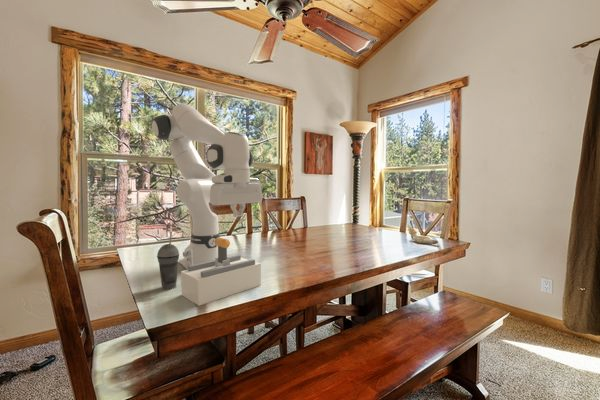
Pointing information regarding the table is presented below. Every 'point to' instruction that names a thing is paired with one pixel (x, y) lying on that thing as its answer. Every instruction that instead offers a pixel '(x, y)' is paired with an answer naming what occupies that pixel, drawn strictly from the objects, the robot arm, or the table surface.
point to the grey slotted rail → (220, 269)
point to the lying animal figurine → (420, 237)
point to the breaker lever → (222, 248)
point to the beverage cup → (168, 264)
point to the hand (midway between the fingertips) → (238, 216)
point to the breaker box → (219, 282)
